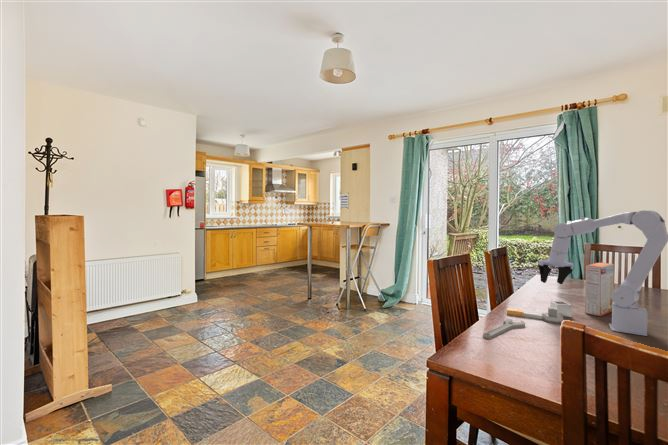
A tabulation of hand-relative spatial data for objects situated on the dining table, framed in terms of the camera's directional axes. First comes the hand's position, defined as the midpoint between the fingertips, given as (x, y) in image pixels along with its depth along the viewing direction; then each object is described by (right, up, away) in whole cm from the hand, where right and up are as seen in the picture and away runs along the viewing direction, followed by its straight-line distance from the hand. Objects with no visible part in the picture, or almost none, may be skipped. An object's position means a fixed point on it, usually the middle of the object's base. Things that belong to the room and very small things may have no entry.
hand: (551, 282), depth 138 cm
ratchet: (-10, -13, -5) cm, 18 cm away
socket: (+3, -13, -1) cm, 14 cm away
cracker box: (+22, -14, +3) cm, 26 cm away
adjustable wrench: (-31, -14, -18) cm, 38 cm away
